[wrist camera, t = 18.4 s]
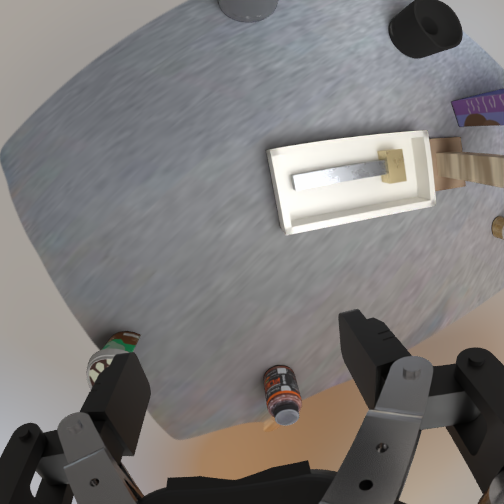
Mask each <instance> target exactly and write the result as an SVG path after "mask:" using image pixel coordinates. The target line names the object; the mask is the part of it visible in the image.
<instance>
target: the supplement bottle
mask: <svg viewBox="0 0 504 504" xmlns="http://www.w3.org/2000/svg"><path fill="white" fill-rule="evenodd" d="M264 387H265V388H264V389H265V394H266V402H267V408H268V411H269V413H270V414H271V415H272V416H273V417H275V421H276V422H277V423H278V424H280V425H290V424H293V423H295V422H296V421H297V420H298V419H299V411H300V410H301V407H302V400H301V396H300V392H299V389H298V385H297V381H296V377H295V374H294V372H293V371H292V369H290V368H289V367H286V366H276V367H273V368H271V369H269V370H268V371H267V372H266V374H265V375H264Z"/></svg>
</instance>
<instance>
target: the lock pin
mask: <svg viewBox="0 0 504 504" xmlns="http://www.w3.org/2000/svg"><path fill="white" fill-rule="evenodd" d="M377 153H378V159H379V160H373V161H367V162H360V163H354V164H348V165H342V166H336V167H330V168H325V169H319V170H314V171H308V172H303V173H297V174H292V175H291V181H292V186H293V190H295V191H298V190H303V189H308V188H313V187H318V186H324V185H329V184H334V183H340V182H345V181H351V180H356V179H362V178H368V177H374V176H380V175H381V179H382V182H384V183H389V184H392V183H398V182H404V181H407V179H406V171H405V164H404V157H403V151H402V149H388V150H381V151H377Z"/></svg>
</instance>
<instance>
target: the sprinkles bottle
mask: <svg viewBox="0 0 504 504" xmlns="http://www.w3.org/2000/svg"><path fill="white" fill-rule="evenodd" d="M492 232H493V235H494V236H495V237H497V238H501V239H503V240H504V218H503V217H501V216H499V217H497V218H496V219H495V220H494V222H493V225H492Z"/></svg>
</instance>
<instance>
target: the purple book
mask: <svg viewBox="0 0 504 504" xmlns="http://www.w3.org/2000/svg"><path fill="white" fill-rule="evenodd" d="M451 104H452V107H453V110H454V113H455V116H456V119H457V122H458V126H459V127H463V126H489V125H504V89H500V90H495V91H491V92H487V93H483V94H479V95H475V96H471V97H467V98H464V99H460V100H456V101H452V102H451Z"/></svg>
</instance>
